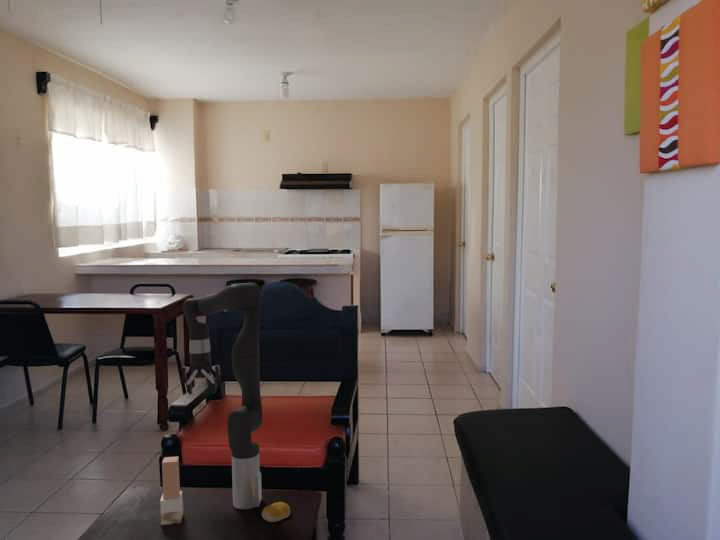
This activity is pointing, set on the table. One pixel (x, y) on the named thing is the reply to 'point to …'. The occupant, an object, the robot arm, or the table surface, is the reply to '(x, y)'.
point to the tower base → (172, 517)
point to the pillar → (170, 477)
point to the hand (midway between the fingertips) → (202, 393)
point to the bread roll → (276, 512)
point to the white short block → (171, 504)
